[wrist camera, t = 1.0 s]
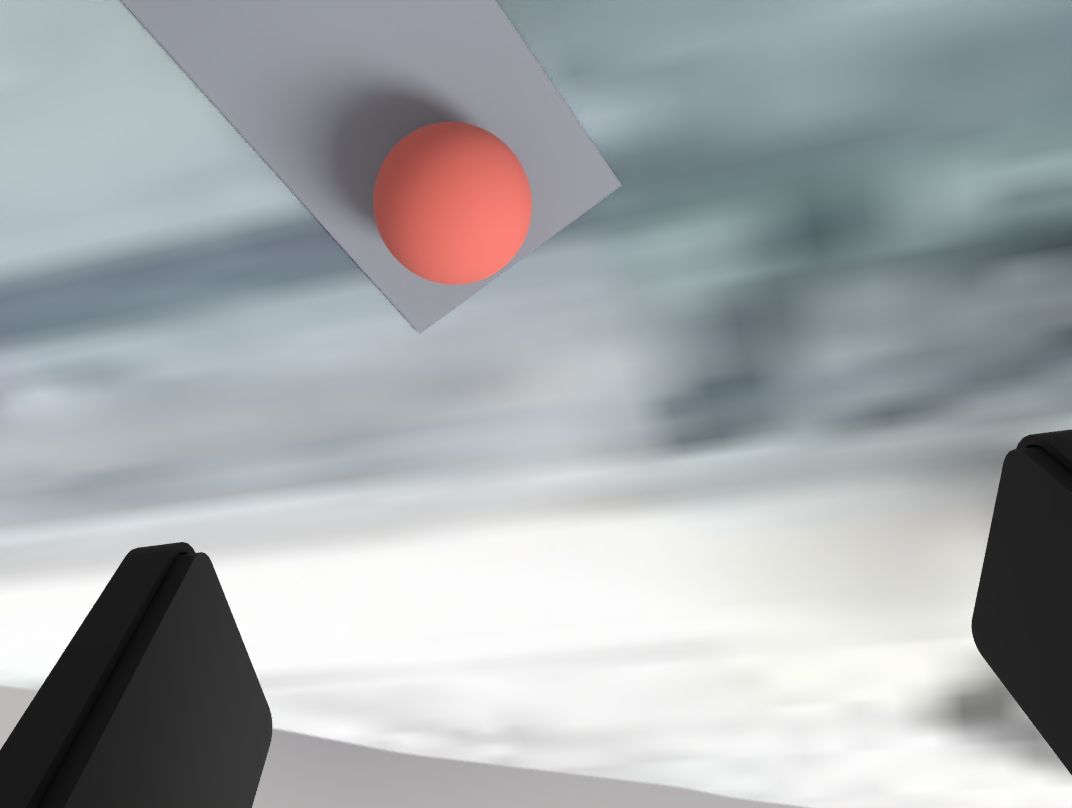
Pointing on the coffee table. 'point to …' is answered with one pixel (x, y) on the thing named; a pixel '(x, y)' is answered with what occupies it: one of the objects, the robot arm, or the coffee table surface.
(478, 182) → the ball
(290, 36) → the lane
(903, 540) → the coffee table surface
